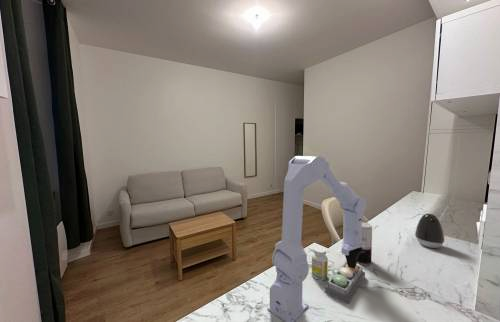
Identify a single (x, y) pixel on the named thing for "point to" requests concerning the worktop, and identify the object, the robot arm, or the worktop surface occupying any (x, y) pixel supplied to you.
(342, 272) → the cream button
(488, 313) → the worktop surface
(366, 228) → the grey black container
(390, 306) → the worktop surface
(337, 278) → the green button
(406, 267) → the worktop surface
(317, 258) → the supplement bottle
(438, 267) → the worktop surface
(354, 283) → the tray of pastel eggs
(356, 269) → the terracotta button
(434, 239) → the dark egg shaped speaker
